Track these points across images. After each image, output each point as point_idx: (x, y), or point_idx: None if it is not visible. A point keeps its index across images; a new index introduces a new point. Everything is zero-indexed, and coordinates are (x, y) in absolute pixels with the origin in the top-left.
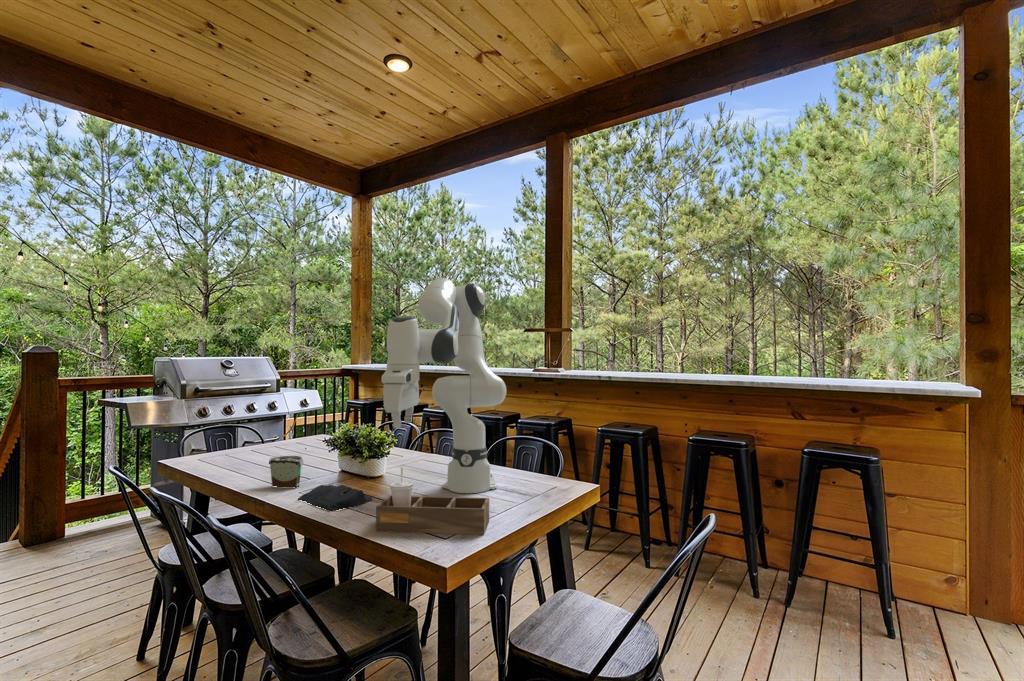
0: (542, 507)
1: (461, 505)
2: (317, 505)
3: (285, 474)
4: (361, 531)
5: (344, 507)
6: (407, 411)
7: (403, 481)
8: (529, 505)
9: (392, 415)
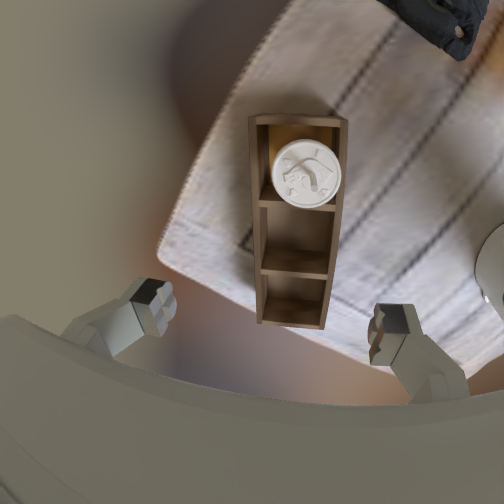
0: None
1: (325, 280)
2: None
3: None
4: (256, 85)
5: (396, 8)
6: (426, 374)
7: (339, 172)
8: None
9: (76, 325)
